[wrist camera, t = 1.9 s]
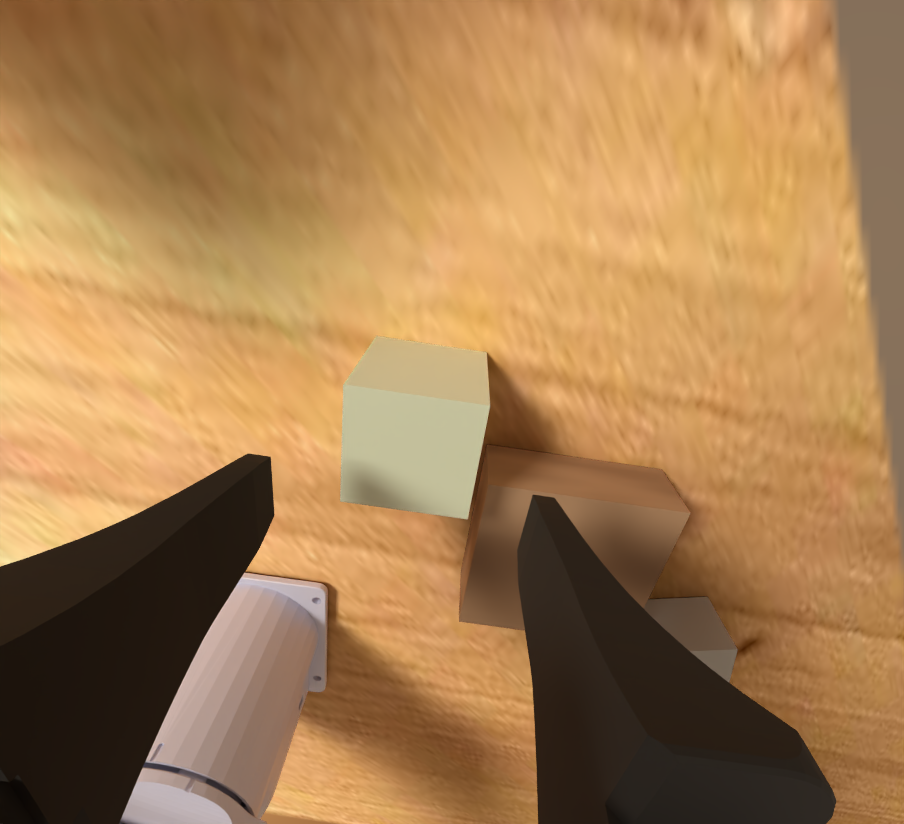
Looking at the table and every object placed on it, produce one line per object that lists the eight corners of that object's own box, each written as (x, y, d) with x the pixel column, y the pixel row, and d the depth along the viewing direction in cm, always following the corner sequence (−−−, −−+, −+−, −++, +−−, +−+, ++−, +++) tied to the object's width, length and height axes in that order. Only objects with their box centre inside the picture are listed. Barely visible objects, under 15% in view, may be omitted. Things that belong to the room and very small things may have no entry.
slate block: (694, 667, 26) (719, 722, 23) (590, 671, 27) (602, 725, 24) (707, 596, 23) (737, 649, 21) (591, 602, 24) (606, 654, 21)
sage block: (469, 445, 20) (467, 519, 15) (370, 431, 20) (340, 501, 15) (486, 351, 18) (490, 405, 13) (376, 335, 18) (343, 384, 13)
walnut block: (608, 592, 24) (626, 644, 21) (460, 571, 23) (459, 621, 21) (661, 469, 20) (690, 513, 17) (486, 444, 20) (488, 484, 17)
